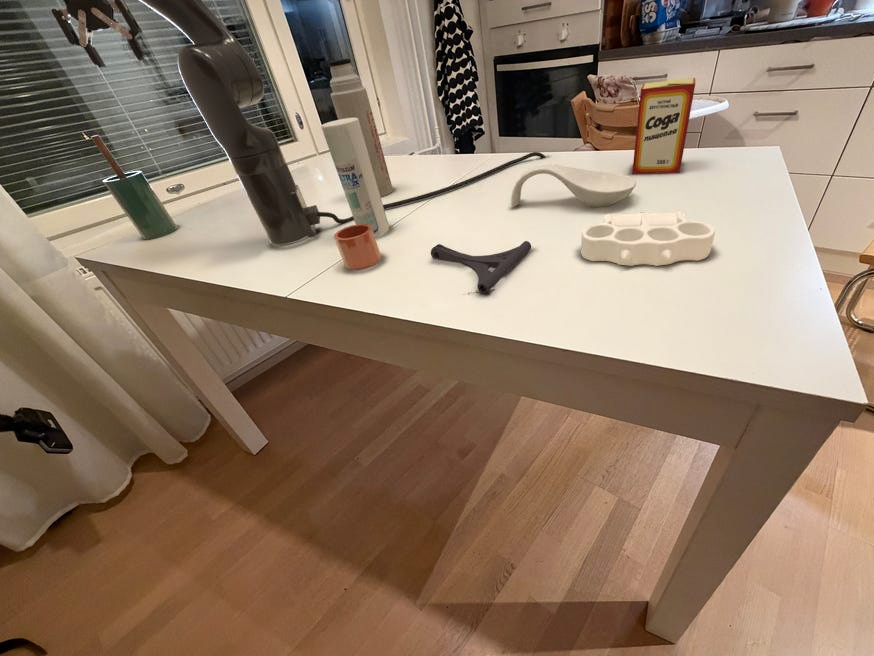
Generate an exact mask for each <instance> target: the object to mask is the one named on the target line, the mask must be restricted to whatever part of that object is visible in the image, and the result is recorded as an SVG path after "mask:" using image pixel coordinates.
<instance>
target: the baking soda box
mask: <svg viewBox="0 0 874 656" xmlns="http://www.w3.org/2000/svg"><path fill="white" fill-rule="evenodd" d="M695 87H696V77H691V78H689V77H688V78H678V79H668V80H665V81H654V82H645V83H643V84H642V86H641V88H640V94H639V103H638V112H637V113H638V114H637V122H636V123H637V124H636V131H635V142H634V150H633V161H632V170H631V175H645V174H646V175H647V174H649V175H651V174H680V172H681V168H682V162H683V156H684V152H685V151H684V150H685V145H686V138H687V133H688V128H689V122H690V116H691V112H692V105H693V99H694V94H695V89H696V88H695Z"/></svg>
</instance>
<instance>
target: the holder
mask: <svg viewBox="0 0 874 656" xmlns="http://www.w3.org/2000/svg"><path fill="white" fill-rule="evenodd" d="M333 238H334V241H335V244H336V246H337V249H338V252H339V255H340V256H341V260H342V261H343V265H344V267H345V268H346V269H348V270H352V271H358V270H364V269H365V270H366V269H368V268H371V267H373V266H375V265H377V264H378V263H379V262H380V261H381V260H382V254H381V250H380V247H379V244H378V242H377V238H376V236H375V235H374V232H373V229H372V226H371V225H368V224H351V225H349V226H346V227H345V226H344V227H343V228H340V229H339V230H337V231H336V232H335V233H334V234H333Z"/></svg>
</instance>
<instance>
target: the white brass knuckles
mask: <svg viewBox="0 0 874 656" xmlns="http://www.w3.org/2000/svg"><path fill="white" fill-rule="evenodd" d="M715 235H716V230H715V228H714V226H712V225H711V224H709V223H707V222H702V221H698V220H689V219H687V218H686V217H685V214H684V212H682V211H681V210H678V211H675V212H657V213H656V212H654V213H647V212H640V213H626V214H624V213H623V214H612V213H607V214H605V215H604V222H602V223H597V224H593V225H590V226H587V227H586V228H584V229H583V230H582V232H581V239H580V253H581V254H580V255H581V256H582V257H583V258H584V259H586V260H587V261H589V262H611V263H614V264H616V265H619V266H620V265H621V266H628V267H632V266H638V265H649V266H656V267H657V266H659V267H660V266H666V265H671V264H674V263H677V262H681V261H696V262H697V261H702V260H704V259H706V258H707V257H708V256H709V255H710V254H711V250H712V247H713V242H714V239H715Z"/></svg>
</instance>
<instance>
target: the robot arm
mask: <svg viewBox="0 0 874 656" xmlns="http://www.w3.org/2000/svg"><path fill="white" fill-rule="evenodd" d="M62 1H63V2H64V4H65V8H61V9H58V8H52V9H51V14H52V15H53V17H54V19H55V21H56V22H57V24H58V25H59V27H60V29H61V31H62V32H63V34H64V36H65V39H67V41H68V43H69V44H71V45H72V46H77V47H81V48H82V49H83V50H84V51H85V52H86V55H88V58H89V59H90V60H91V62H92V63H93V64H94V65H95V66H97V67H98V69H103V68H106V67H107V66H106V64H105V62H104V60H103V59H102V57H101V56H100V53H98V51H97V49H96V48H95V46H93V36H94V32H102V31H103V30H107V31H110V30H115V31H116V32H118V33H119V34H121V35H122V36H123V37H125V38H126V39H127V43H128V45H129V46H130V49H131V50H132V52H133V53H134V55H135V57H136V59H137V61H139V62H143V61H145V57H146V55H145V52H144V50H143V49H142V47H141V45H140V43H139V41H138V37H140V36H141V35H143V30H142V29H141V27H140V25H139V23H138V22H137V20H136V18H135V16H134V15H133V13H132V12H131V10H130V8H129V6H128V5H127V2H125V0H114V1H109V0H62ZM138 2H141V3H142V4H144V5H145V6H146V7H148V8H150V9H151V10H152V11H154V12H156V13H157V14H158V15H160V16H161V17H163V18H164V19H165V20H167V21H168V22H170V24H172V25H174V26H175V28H178V30H179V31H181V33H183V34H184V36H185V37H186V38H188V39H189V41H190V42H191V43H192V44H188V45H184V46H183V47H181V48H180V49H179V51H178V53H177V66H178V71H179V74H180V76H181V79H182V81H183V84H184V86H185V88H186V90H187V92H188V93H189V95H190V97H191V99H192V101H193V103H194V105H195V106H196V108H197V110H198V111H199V113H200V115H201V116H202V118H203V120H204V122H205V123H206V126H207V127H208V129H209V131H210V134H212V136H213V137H214V139H215V141H216V142H217V143H218V144H219V145H220V147H221V148H222V149H223V151H224V152H225V155H226V156H227V157H228V160H229V162H230V163H231V166H232V168H233V169H234V172H235V174H236V176H237V178H238V179H239V182H240V184H241V185H242V188H243V189H244V191H245V193H246V196H247V197H248V200H249V202H250V204H251V205H252V207H253V209H254V212H255V213H256V216H257V217H258V219H259V222H260V224H261V225H262V227H263V229H264V231H265V233H266V235H267V237H268V239H269V242H270V244H271V246H273V247H287V246H292V245H296V244H299V243H301V242H304V241H306V240H308V239H311V238H314V237H315V236H316V234H317V226H316V225H319V224H321V218H323V217H324V218H331V219H333V221H334V222H335V223H337V224H340V225H341V224H346V223H350V222H352V221H354V218H353V215H352V216H350V217H347V218H339V217H338V216H337V215H336V214H335V213H332V212H328V211H320V210H319V208H318V206H317V205H316V204H314V205H311V206H307V203H306V200H305V198H304V196H303V194H302V191H301V189H300V187H299V185H298V184H297V183H296V182H295V180H294V177H293V175H292V172H291V171H290V167H289V166H288V164H287V161H286V158H285V156H284V153H283V152H282V151H283V150H282V149H281V147H280V144H279V142H278V140H277V139H278V138H277V137H276V135H275V133H274V132H273V130H271V129H270V128H268V127H261V126H257V125H255V124H253V123H251V122H250V121H249V120H248V119H247V118H246V116H245V115H244V114H243V112H242V110H241V109H242V108H245V107H250V106H252V105H255V104H257V103H259V102H260V101H261V100H262V99H263V98H264V94H265V86H264V81H263V78H262V75H261V72H260V70H259V69H258V66H257V65H256V63H255V62H254V60H253V58H252V57H251V55H250V54H249V52H248V51H247V50H246V49H245V47H244V46H243V45H242V44H241V43H240V42H239V41H238V40H237V38H236V37H235V36H234V35H233V33H232V32H230V30H229V29H228V27H226V25H224V23H223V22H222V21H221V19H219V18H218V17H217V15H215V14H214V12H213V11H212V9H210V7H208V5H207V4H206V3H205V2H204V1H203V0H138ZM115 10H116V12H117V13H118V14H121V15H122V17H123V19H124V20H125V22H126V24H127V25H128V27H129V28H127V27H126V26H125V25H124V24H122V23H121V22H120V21H119V20H117V19H116V18H115V17H114V16H115ZM71 17H72V18H73V19H74V20H76V21H77V22H78V26H77V27H78V30H77V31H78V34H77V33H76V31H75V29H74V28H73V26H72V24H71V21H72V19H71ZM78 35H79V36H78ZM532 157H539V158H541V159H546V158H547V156H546V155H545V154H543V153H541V152H539V151H533V152H529V153H527V154H525V155H523V156H521V157H519V158H518V157H517V158H515V159H512V160H509V161H507V162H504V163H503V164H500V165H498V166H495V167H494V168H491V169H489V170H487V171H484V172H482V173H479V174H477V175H475V176H472V177H470V178H467V179H465V180H463V181H460V182H457V183H454V184H451V185H449V186H446V187H442V188H440V189H437V190H434V191H430V192H427V193H424V194H420V195H416V196H412V197H410V198H409V197H408V198H405V199H402V200H397V201H393V202H389V203H386V204H383V207H384V210H386V209H387V210H388V209H391V208H395V207H399V206H403V205H407V204H411V203H415V202H419V201H422V200H425V199H428V198H432V197H436V196H438V195H441V194H444V193H448V192H450V191H452V190H456V189H458V188H461V187H464V186H466V185H468V184H471V183H474V182H476V181H479V180H480V179H483V178H485V177H487V176H490V175H492V174H494V173H497V172H499V171H501V170H503V169H506V168H507V167H510V166H512V165H516V164H518V163H521V162H524V161H525V160H527V159H531V158H532Z"/></svg>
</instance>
